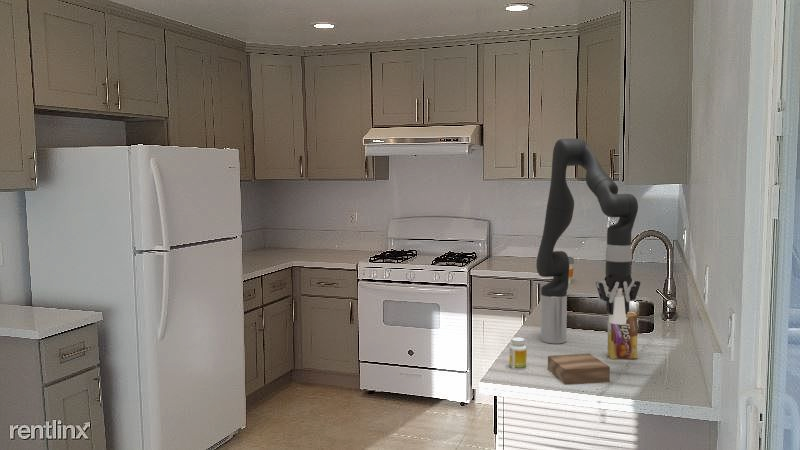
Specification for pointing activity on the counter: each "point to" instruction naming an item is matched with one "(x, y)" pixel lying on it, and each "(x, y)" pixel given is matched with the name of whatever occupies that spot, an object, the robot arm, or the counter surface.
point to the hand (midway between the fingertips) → (617, 313)
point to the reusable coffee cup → (570, 268)
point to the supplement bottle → (518, 354)
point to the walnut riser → (578, 369)
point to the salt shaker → (618, 309)
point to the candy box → (623, 338)
